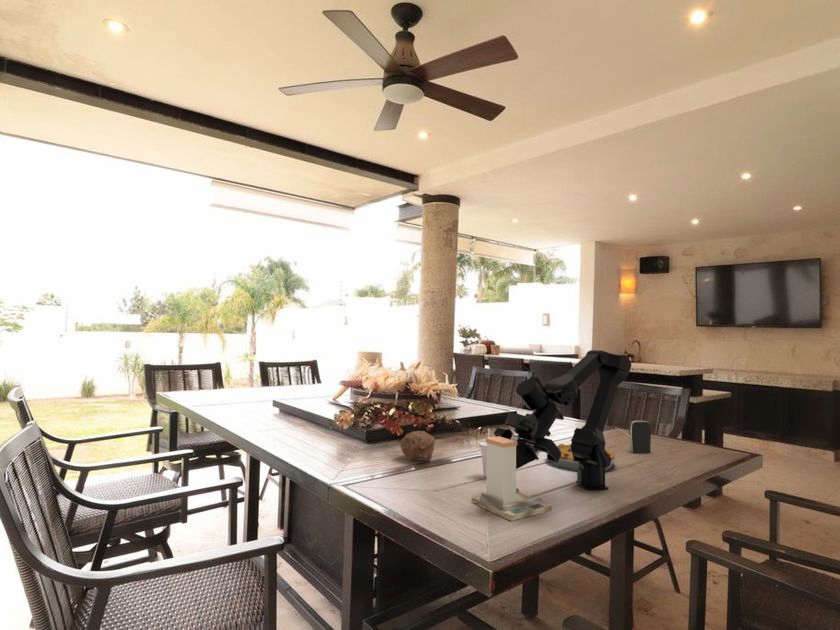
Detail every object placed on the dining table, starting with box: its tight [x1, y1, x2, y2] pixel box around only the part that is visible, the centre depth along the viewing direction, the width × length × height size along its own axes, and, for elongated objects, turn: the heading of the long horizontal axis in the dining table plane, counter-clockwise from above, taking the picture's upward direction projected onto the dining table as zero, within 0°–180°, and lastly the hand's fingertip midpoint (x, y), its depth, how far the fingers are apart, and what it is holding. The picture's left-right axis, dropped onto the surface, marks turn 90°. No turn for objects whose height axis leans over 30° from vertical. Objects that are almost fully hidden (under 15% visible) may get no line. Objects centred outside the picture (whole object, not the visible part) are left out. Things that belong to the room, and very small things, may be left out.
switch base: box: [471, 487, 552, 522], centre depth 115 cm, size 13×14×3 cm
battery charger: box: [628, 419, 652, 454], centre depth 172 cm, size 7×4×11 cm, turn 91°
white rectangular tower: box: [485, 436, 517, 506], centre depth 113 cm, size 4×6×15 cm
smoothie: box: [479, 428, 491, 477], centre depth 139 cm, size 6×6×14 cm
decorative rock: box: [400, 430, 436, 461], centre depth 157 cm, size 13×11×10 cm
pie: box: [545, 443, 617, 471], centre depth 155 cm, size 22×22×5 cm
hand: (508, 471), depth 115 cm, fingers closed
